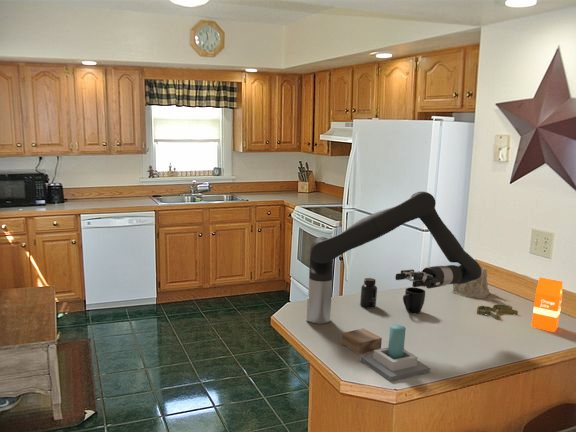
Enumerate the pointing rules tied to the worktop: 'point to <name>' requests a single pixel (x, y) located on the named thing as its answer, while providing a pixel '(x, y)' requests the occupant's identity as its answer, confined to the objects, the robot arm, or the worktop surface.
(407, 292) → the mug
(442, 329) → the worktop surface
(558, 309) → the orange juice
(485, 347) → the worktop surface
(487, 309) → the cookie cutter
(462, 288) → the sand castle
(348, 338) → the stand
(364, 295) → the supplement bottle
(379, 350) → the socket base
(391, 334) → the peg
